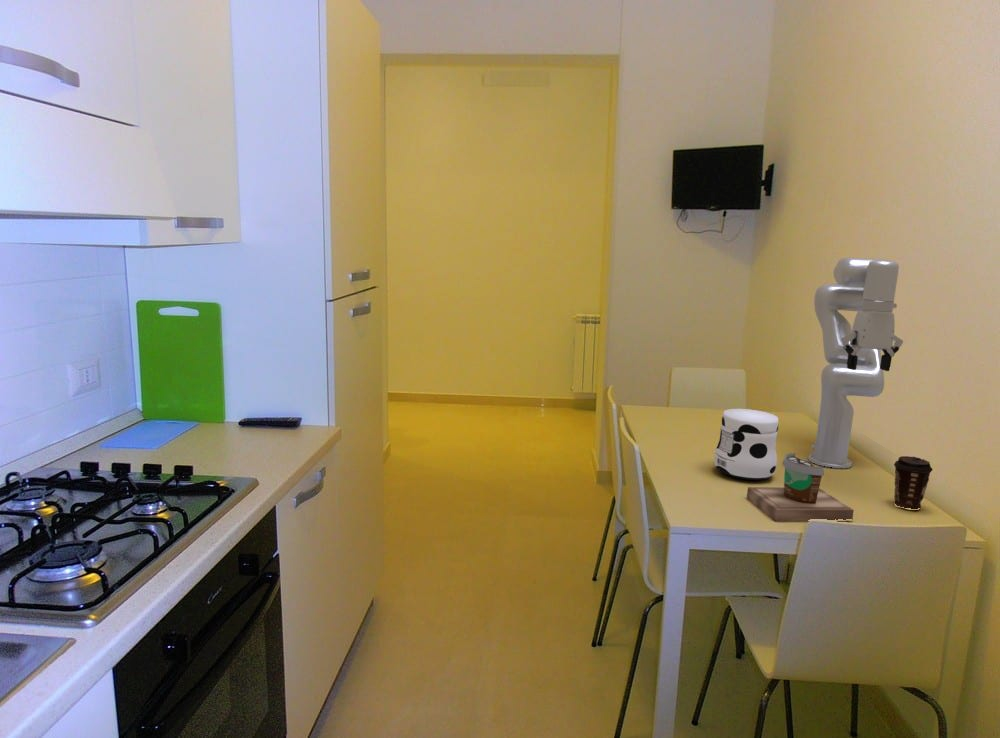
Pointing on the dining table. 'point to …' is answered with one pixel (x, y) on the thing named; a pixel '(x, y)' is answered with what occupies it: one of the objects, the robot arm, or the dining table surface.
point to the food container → (801, 479)
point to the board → (797, 506)
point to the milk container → (747, 444)
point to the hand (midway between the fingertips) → (867, 369)
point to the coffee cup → (911, 481)
